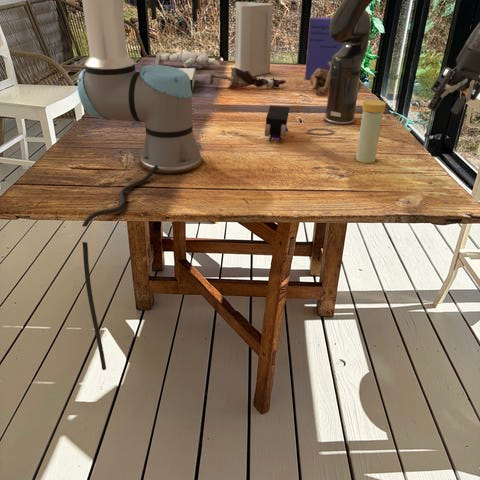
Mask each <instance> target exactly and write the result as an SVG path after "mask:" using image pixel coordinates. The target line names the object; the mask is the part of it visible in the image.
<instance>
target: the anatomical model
mask: <svg viewBox="0 0 480 480" xmlns="http://www.w3.org/2000/svg"><path fill="white" fill-rule="evenodd" d="M327 64H328V66H330V70H324V69H320V68H318V69H316V70H315V72H314V73H313V74H312V76H311V78H310V79H309V82H310V85H311V86H312V90H314V91H315V95H316V96H318V95H319V96H322V94H325V92H328V90H329V81H330V71H331V61H330V62H328V63H327Z"/></svg>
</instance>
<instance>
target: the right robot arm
mask: <svg viewBox="0 0 480 480" xmlns="http://www.w3.org/2000/svg"><path fill="white" fill-rule="evenodd" d="M373 1H374V0H342V1H341V3H340V5H339V6H338V7H337V9H336V10H335V12H334V13H333V15H332V16H331V18H332V19H331V22H330V26H329V33H330V37H331V39H332V40H333V41H335V42H337V43H344V44H343V46H342V48H341V49H340V50H339V51H338V52H337V53H336V54H334V55H333V57H332V62H331V71H330V81H329V89H328V90H327V101H326V110H325V117H324V121H326V122H327V123H331V124H334V125H350V124H353V123H355V115H356V109H357V102H358V94H359V88H360V85H361V83H360V81H361V72H362V64H363V61H364V59H365V57H366V55H367V51H368V45H369V40H370V34H371V27H372V26H371V25H372V23H371V22H372V21H371V16H370V14H369V12H368V11H367V8H368V7H369V6H370V4H371V3H372V2H373ZM455 62H456V65H455V67H454V68H453V69H451V68H450V67H448V66H444V67H443V68H442V70H441V71H440V73H439V74H438V76H437V78H436V79H435V81H434V82H433V84H432V86H431V87H430V89H431V91H432V92H433V93H434V95H433V97H432V98H431V99H430V102H429V103H428V106H427V107H428V109H429V110H430V111H431V112H436V111H437V110H438V108H439V107H440V106H441V103H442V102H443V100H444V97H445V96H448V94H450V93H453V92H455V91H456V92H457V91H459V97H458V98H457V99H456V101H455V102H454V104H453V106H452V107H451V109H450V111H451V113H452V114H454V115H457V116H458V115H459V114H460V113H461V111H462V110H463V109H464V107H465V106H466V104H467V103H468V102H470V101H475V100H476V99H477V98H478V96H479V94H480V21H479V23H478V24H477V25H476V27H475V28H474V29H473V31H472V32H471V34H470V35H469V37H468V39H467V40H466V42H465V44H464V45H463V47H462V49H461V50H460V52H459V54H458V55H457V57H456V59H455Z"/></svg>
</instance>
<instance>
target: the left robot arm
mask: <svg viewBox="0 0 480 480" xmlns="http://www.w3.org/2000/svg"><path fill="white" fill-rule="evenodd" d="M146 2H147V8H148V9H150V17H151V18H150V19H151V21H156V20H157V17H158V16H157V3H156V0H146ZM81 3H82V10H83V16H84V23H85V31H86V38H87V45H88V52H89V57H88V58H87V59H86V61H84V69H82V70H80V73H79V75H78V78H77V80H78V83H77V94H78V97H79V98H78V99H79V100H80V103H81V106H82V107H83V109H84V110H85V112H86V113H88V114H89V115H90V116H91V117H93V118H96V119H102V120H106V121H127V122H138V123H139V122H141V123H144V125H145V138H144V142H143V146H142V150H141V154H140V162H141V166H142V168H144V169H145V170H146V171H149V172H148V173H147V174H146V175H145V176H144V177H143V178H141V179H139V180H136V181H135V182H132V183H130V184H128V185H126V186H124V187H123V188H122V189H121V190H120V192H119V199H120V203H119V205H118V206H115V207H113V208H107V209H100V210H97V211H93V212H92V213H91V214H89V215H88V216H87V217H86V218H85V219H84V221H83V223H82V225H81V226H82V227H83V228H84V227H88V225H89V224H90V222H91V221H92V220H93V219H95V218H96V217H99V216H103V215H109V214H115V213H118V212H120V211H121V210H123V209H124V207H125V205H126V198H125V193H126V192H127V191H129V190H130V189H134V188H135V187H138V186H140V185H142V184H144V183H146V182H147V181H148V180H149V179H150V178H151V177H152V176H153V174H154V173H156V174H163V175H164V174H165V175H169V174H170V175H172V174H173V175H175V174H182V173H187V172H190V171H193V170H195V169H197V168H198V167H199V166H201V163H202V154H201V151H202V150H203V149H202V148H203V147H202V146H201V144H200V142H197V141H196V137H195V135H194V130H193V129H194V126H193V99H192V98H193V97H192V96H193V93H192V91H191V83H190V78H189V76H188V74H187V73H185V72H184V71H182V70H180V69H177V68H178V67H173V66H169V65H164V64H162V65H158V66H156V64H148V65H144V66H142V67H141V68H140V70H139V71H136V63H135V61H134V60H133V59H132V58H131V57H130V55H128V49H127V37H126V28H125V18H124V8H123V0H81ZM200 8H201V1H200V0H191V14H192V15H191V16H192V22H193V23H194V22H197V21H198V10H200ZM82 254H83V255H82V256H83V258H82V259H83V269H84V278H85V285H86V287H85V288H86V294H87V298H88V304H89V310H90V315H91V320H92V325H93V329H94V334H95V338H96V344H97V349H98V353H99V359H100V364H101V370H103V371H106V370H107V365H106V358H105V353H104V347H103V343H102V338H101V333H100V329H99V324H98V318H97V313H96V309H95V307H96V306H95V303H94V297H93V290H92V283H91V273H90V265H89V245H88V242H87V241H82Z"/></svg>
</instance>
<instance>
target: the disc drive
mask: <svg viewBox="0 0 480 480" xmlns="http://www.w3.org/2000/svg"><path fill="white" fill-rule="evenodd" d="M176 68H177V69H180V70H182V71H184V72H185V73H187V74H188V76H189V78H190V83H191V91H192V94H193V92H194V87H195V83H196V68H195V67H189V68H188V67H187V68H186V67H176Z"/></svg>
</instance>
